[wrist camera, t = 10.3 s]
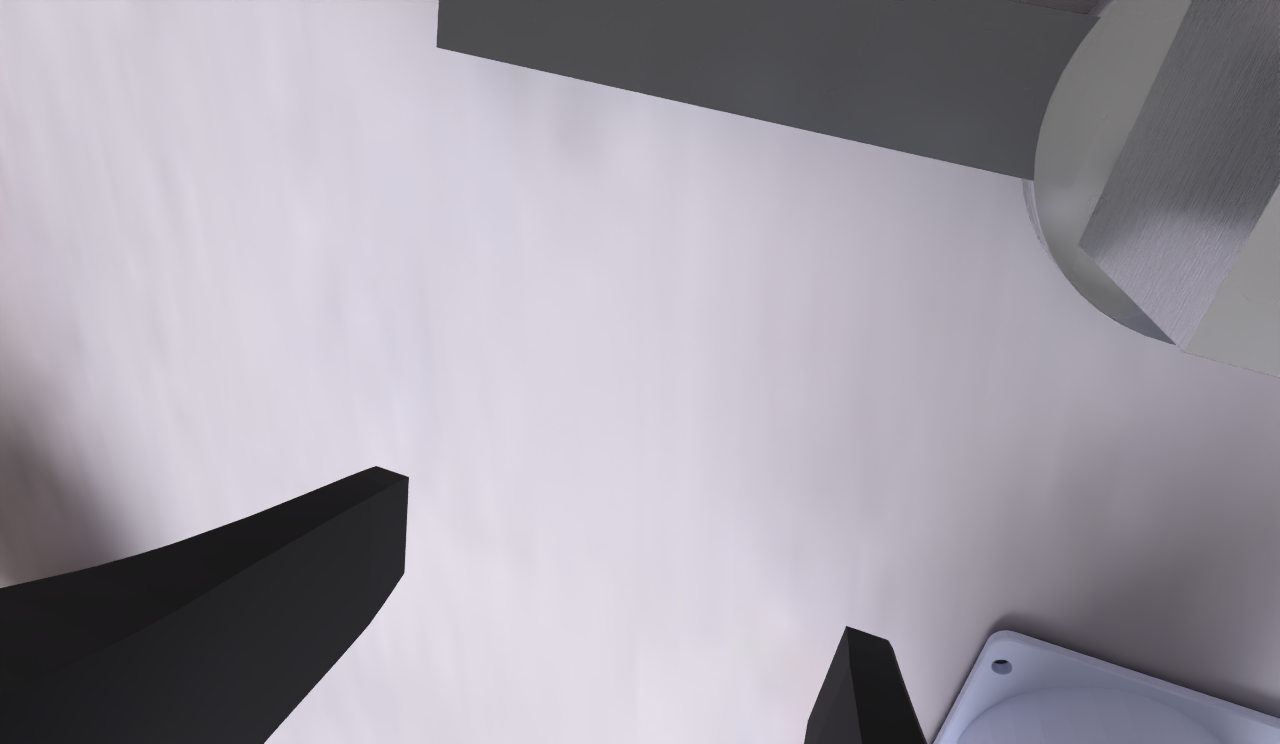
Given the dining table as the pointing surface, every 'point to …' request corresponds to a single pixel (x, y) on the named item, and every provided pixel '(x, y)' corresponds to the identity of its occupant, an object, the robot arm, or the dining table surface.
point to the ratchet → (880, 82)
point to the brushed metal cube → (1204, 190)
